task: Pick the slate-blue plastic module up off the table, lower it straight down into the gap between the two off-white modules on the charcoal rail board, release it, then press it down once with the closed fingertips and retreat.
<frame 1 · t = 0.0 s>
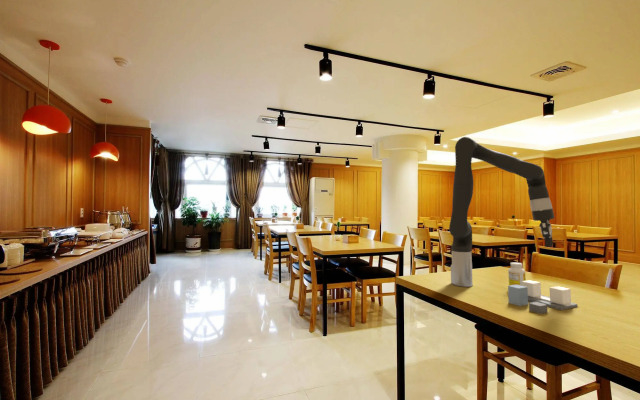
hand: (549, 245, 125), 22 cm above the table, tool pointing down, fingers open, 8 cm apart
supplement bottle: (517, 290, 136), on the table
dark grey block: (538, 311, 109), on the table
din rail: (545, 301, 119), on the table
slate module: (518, 303, 118), on the table
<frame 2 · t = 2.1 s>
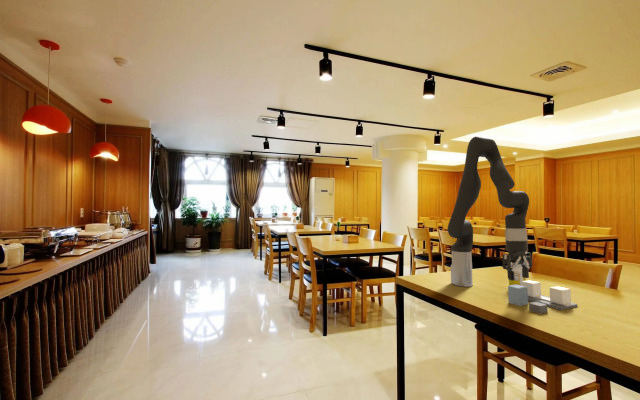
hand: (518, 278, 118), 10 cm above the table, tool pointing down, fingers open, 8 cm apart
nothing on the table moved.
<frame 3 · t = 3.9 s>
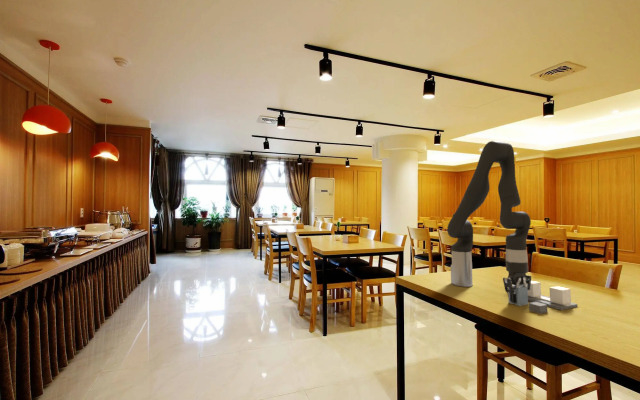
hand: (518, 301, 118), 1 cm above the table, tool pointing down, fingers closed on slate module, 5 cm apart
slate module: (518, 303, 118), on the table, touching gripper
everything else where it was.
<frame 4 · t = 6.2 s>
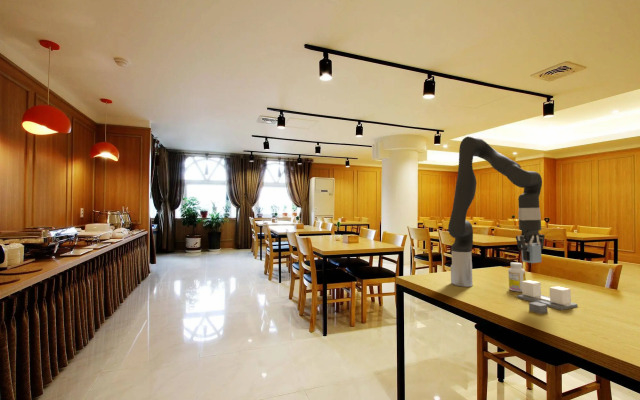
hand: (531, 259, 119), 18 cm above the table, tool pointing down, fingers closed on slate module, 5 cm apart
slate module: (531, 261, 119), point 17 cm above the table, touching gripper
everything else where it was.
when the fingers open (4 cm above the table, at t = 8.8 s): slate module drops 1 cm, resting on din rail.
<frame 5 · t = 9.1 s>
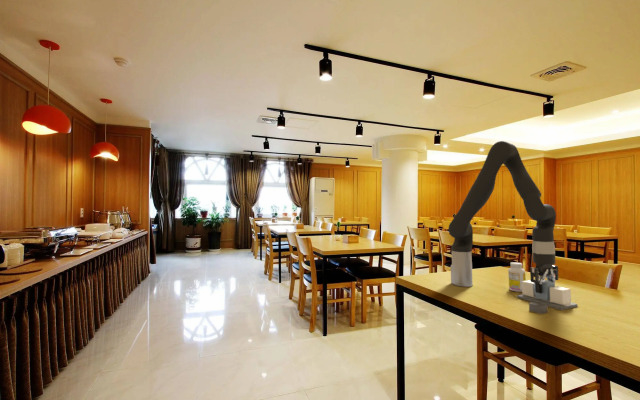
hand: (545, 291, 119), 4 cm above the table, tool pointing down, fingers open, 7 cm apart
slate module: (545, 298, 119), point 1 cm above the table, touching din rail
everything else where it was.
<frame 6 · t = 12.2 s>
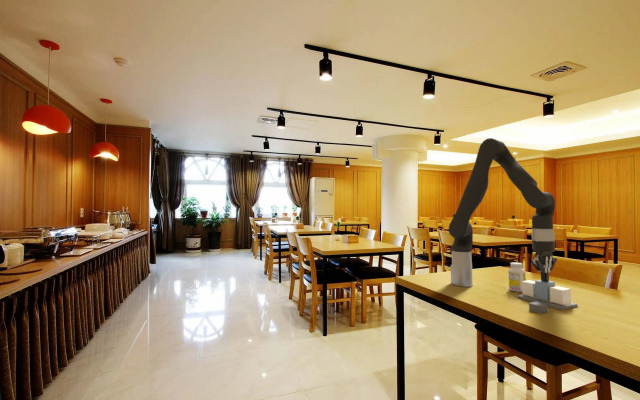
hand: (545, 281, 119), 8 cm above the table, tool pointing down, fingers closed
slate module: (545, 298, 119), point 1 cm above the table, touching din rail, gripper
everything else where it was.
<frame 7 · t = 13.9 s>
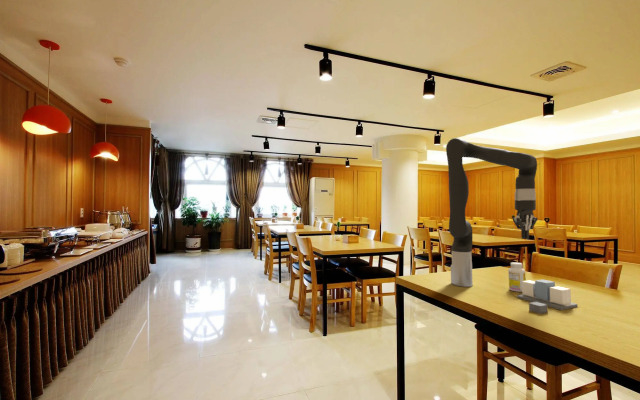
hand: (525, 238, 126), 26 cm above the table, tool pointing down, fingers closed
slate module: (545, 298, 119), point 1 cm above the table, touching din rail
everything else where it was.
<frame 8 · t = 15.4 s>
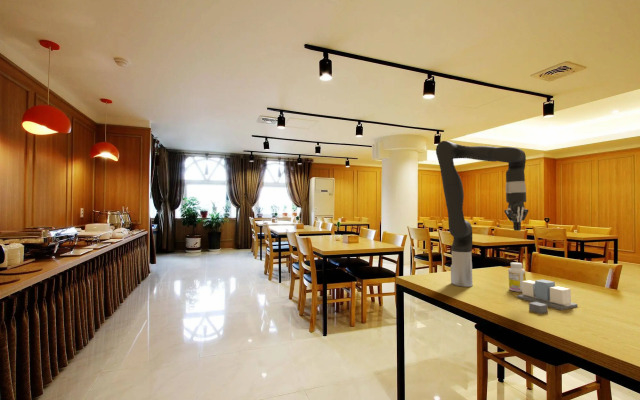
hand: (517, 230, 129), 29 cm above the table, tool pointing down, fingers closed
nothing on the table moved.
at the end: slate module 0.1 cm off-centre on the din rail, point 1.5 cm above the din rail's base; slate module tilted 0°; the gripper is holding nothing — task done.
